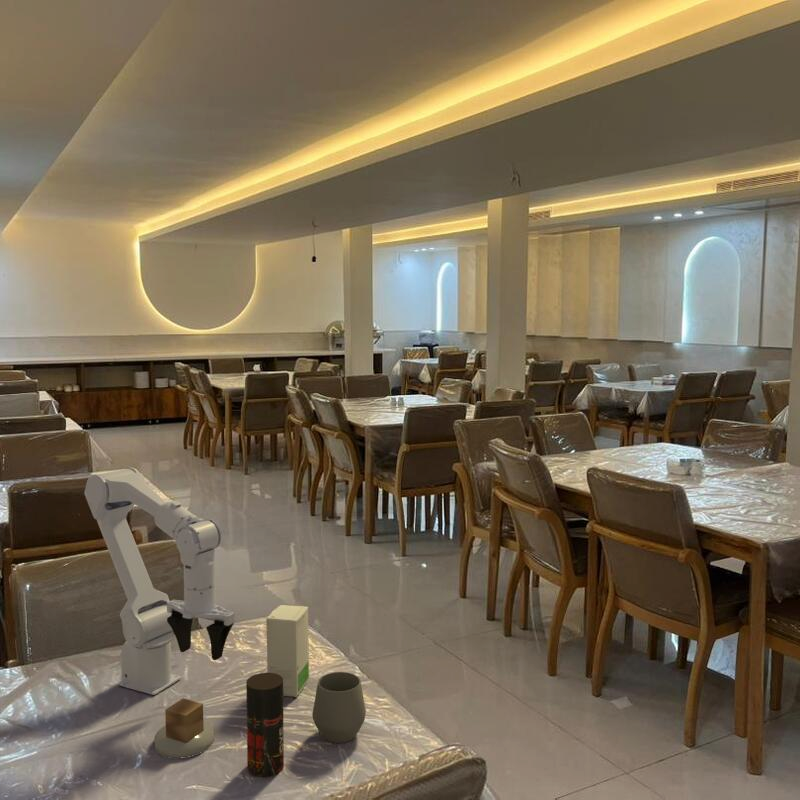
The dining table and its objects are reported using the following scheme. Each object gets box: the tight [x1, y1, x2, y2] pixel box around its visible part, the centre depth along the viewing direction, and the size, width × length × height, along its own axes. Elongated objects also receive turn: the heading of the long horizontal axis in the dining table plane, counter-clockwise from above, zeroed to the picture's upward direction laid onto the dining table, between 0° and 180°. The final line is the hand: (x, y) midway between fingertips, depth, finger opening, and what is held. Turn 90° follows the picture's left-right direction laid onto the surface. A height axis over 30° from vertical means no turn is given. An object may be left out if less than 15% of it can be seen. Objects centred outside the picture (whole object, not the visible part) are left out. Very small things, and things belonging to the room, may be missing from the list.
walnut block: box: [164, 698, 204, 743], centre depth 137 cm, size 4×4×5 cm
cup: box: [311, 671, 367, 744], centre depth 139 cm, size 10×9×10 cm
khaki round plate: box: [153, 720, 215, 759], centre depth 137 cm, size 10×10×2 cm
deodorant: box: [245, 672, 285, 779], centre depth 129 cm, size 6×6×15 cm
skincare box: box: [265, 604, 310, 698], centre depth 157 cm, size 8×7×16 cm
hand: (201, 654), depth 149 cm, fingers open, 7 cm apart
